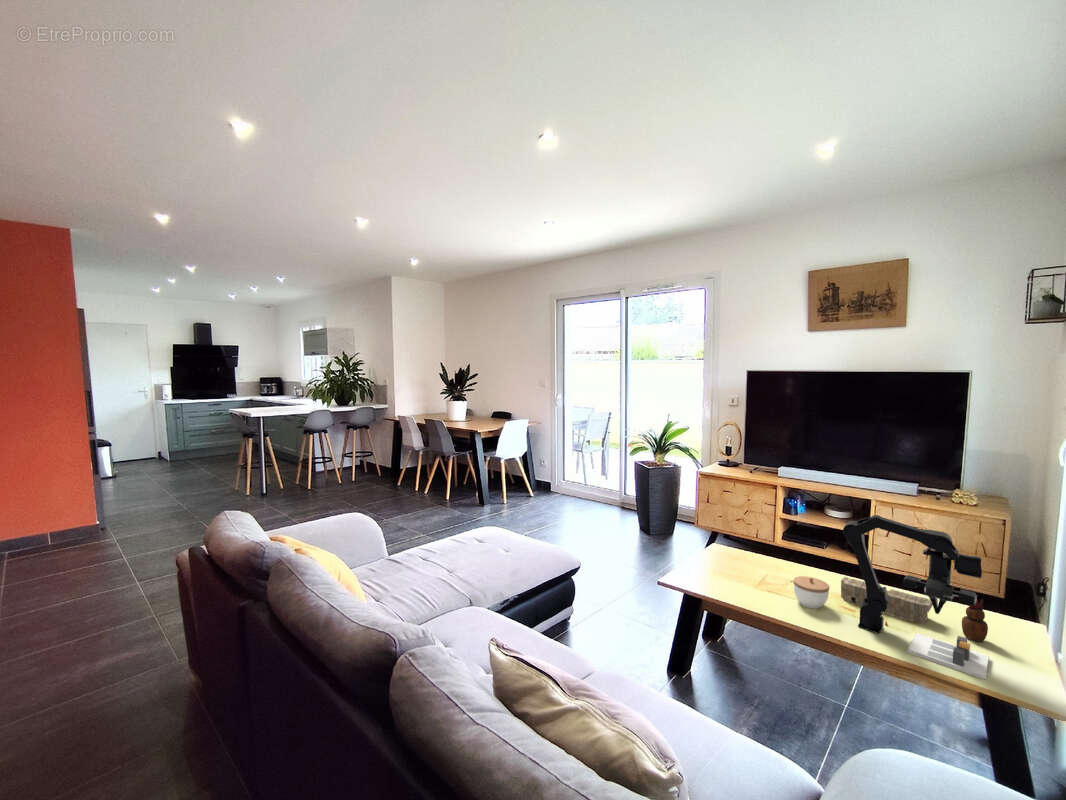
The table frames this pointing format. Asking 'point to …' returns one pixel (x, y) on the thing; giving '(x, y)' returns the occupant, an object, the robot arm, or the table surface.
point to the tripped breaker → (965, 649)
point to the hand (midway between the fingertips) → (937, 613)
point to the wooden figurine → (975, 622)
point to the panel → (949, 655)
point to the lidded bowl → (811, 591)
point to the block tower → (897, 605)
